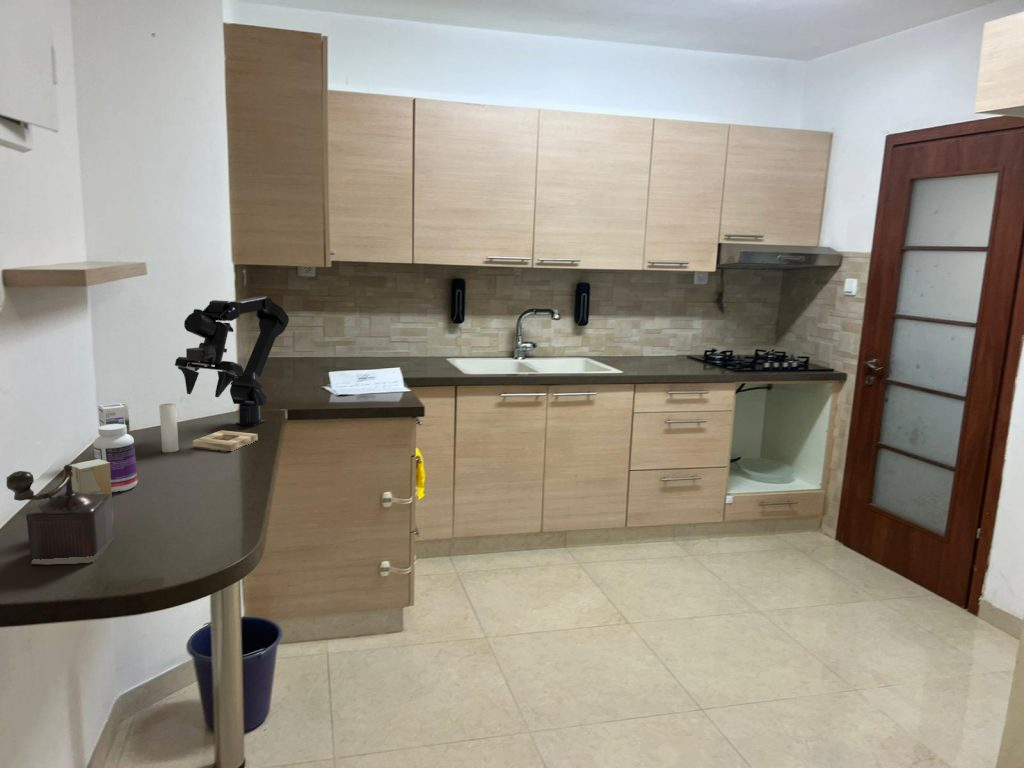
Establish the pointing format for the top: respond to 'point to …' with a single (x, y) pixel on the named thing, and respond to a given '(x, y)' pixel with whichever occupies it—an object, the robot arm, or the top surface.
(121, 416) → the syrup box
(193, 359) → the robot arm
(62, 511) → the manual coffee grinder
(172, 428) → the peg
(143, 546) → the top surface
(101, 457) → the pill bottle
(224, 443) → the socket block
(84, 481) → the skincare box
